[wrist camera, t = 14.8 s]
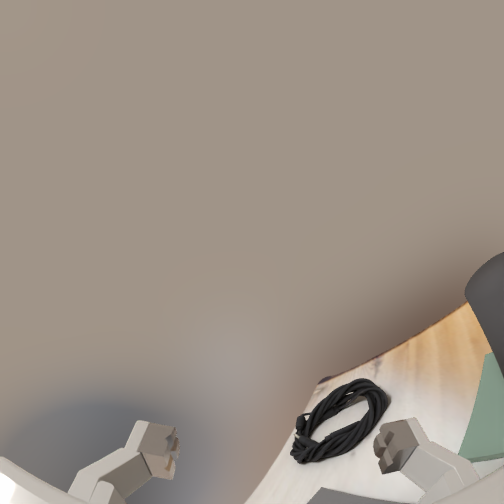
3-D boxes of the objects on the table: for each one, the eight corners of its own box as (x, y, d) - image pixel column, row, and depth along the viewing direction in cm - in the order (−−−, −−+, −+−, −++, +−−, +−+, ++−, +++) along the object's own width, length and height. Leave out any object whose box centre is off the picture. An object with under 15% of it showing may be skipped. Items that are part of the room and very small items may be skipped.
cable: (393, 380, 37) (380, 362, 38) (388, 444, 25) (372, 425, 25) (311, 417, 45) (298, 402, 45) (284, 473, 33) (267, 457, 33)
